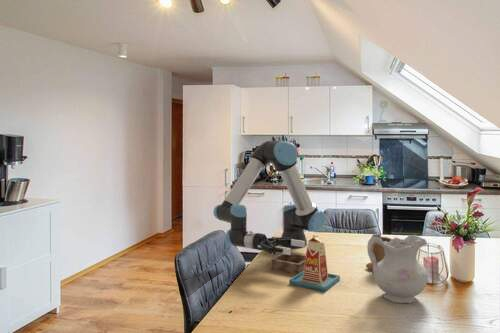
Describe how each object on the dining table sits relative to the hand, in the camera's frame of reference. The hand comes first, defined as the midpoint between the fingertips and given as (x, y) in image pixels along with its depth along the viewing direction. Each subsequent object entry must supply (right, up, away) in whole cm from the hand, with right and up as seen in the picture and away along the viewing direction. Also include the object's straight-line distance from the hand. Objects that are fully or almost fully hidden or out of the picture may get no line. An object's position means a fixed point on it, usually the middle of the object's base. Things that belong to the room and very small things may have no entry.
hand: (297, 247), depth 176 cm
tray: (+7, -14, -4) cm, 16 cm away
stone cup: (+41, -13, +12) cm, 45 cm away
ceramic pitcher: (+36, -15, -20) cm, 44 cm away
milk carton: (+7, -13, -4) cm, 15 cm away
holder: (-1, -12, +16) cm, 20 cm away
